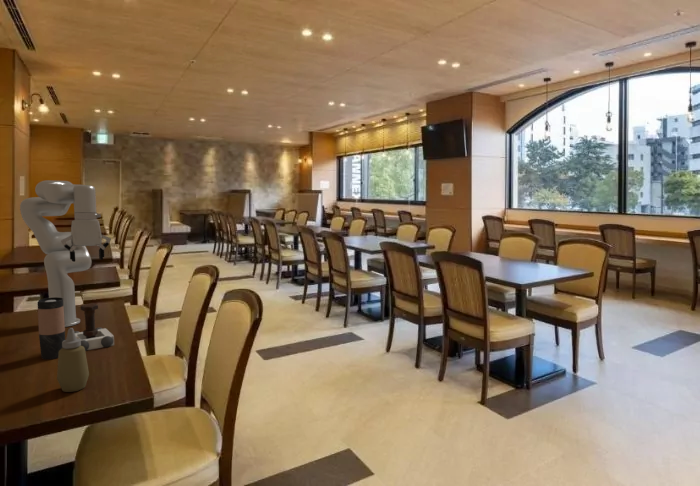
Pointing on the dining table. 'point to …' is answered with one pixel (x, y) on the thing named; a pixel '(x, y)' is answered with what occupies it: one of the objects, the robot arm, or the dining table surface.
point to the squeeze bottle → (72, 364)
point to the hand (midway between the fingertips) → (87, 260)
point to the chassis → (96, 339)
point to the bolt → (89, 320)
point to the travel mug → (51, 326)
